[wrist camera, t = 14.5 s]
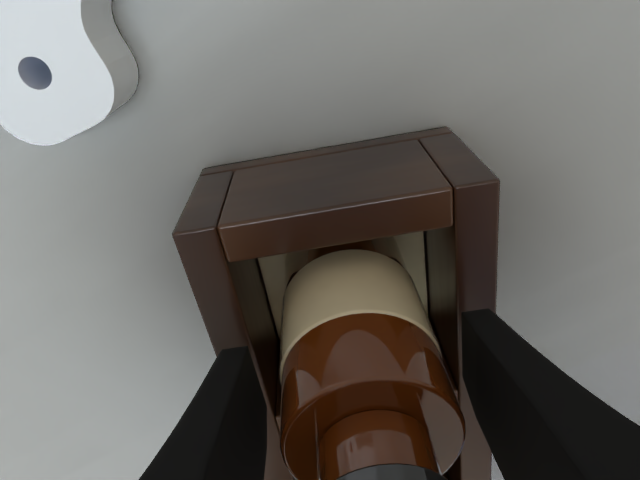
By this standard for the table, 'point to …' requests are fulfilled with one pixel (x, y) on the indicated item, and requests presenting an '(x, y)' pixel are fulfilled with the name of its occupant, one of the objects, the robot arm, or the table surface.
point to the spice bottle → (362, 370)
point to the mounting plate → (61, 68)
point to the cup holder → (341, 228)
